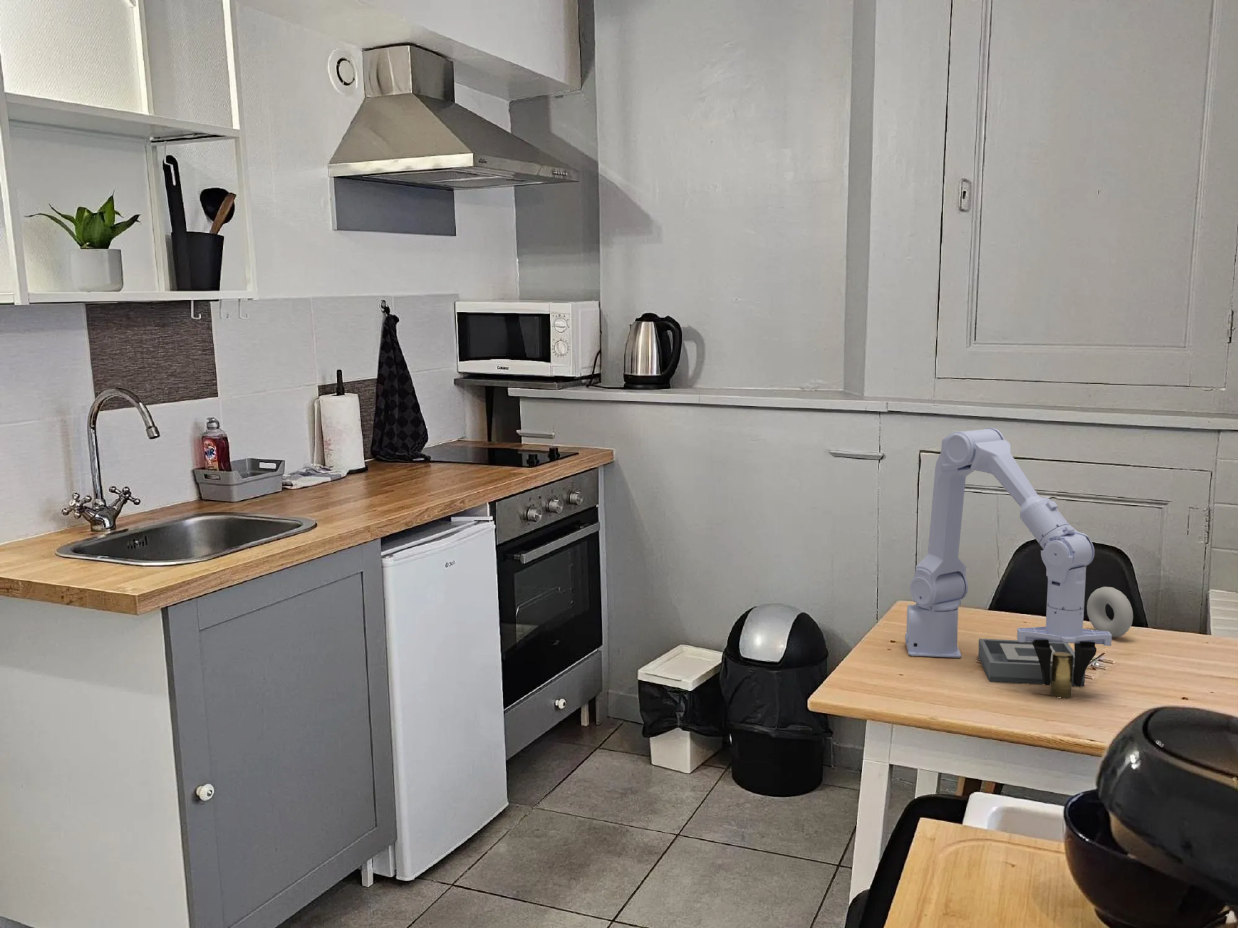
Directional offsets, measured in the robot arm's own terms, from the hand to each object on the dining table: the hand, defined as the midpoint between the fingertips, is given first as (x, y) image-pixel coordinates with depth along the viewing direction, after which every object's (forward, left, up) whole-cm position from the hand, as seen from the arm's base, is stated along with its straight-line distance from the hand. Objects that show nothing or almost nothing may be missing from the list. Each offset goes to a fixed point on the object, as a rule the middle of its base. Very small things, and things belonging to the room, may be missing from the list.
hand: (1061, 683), depth 178 cm
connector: (0, 0, -2) cm, 2 cm away
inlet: (-3, +12, -2) cm, 12 cm away
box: (-3, +12, -2) cm, 12 cm away
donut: (+16, +34, -2) cm, 38 cm away
